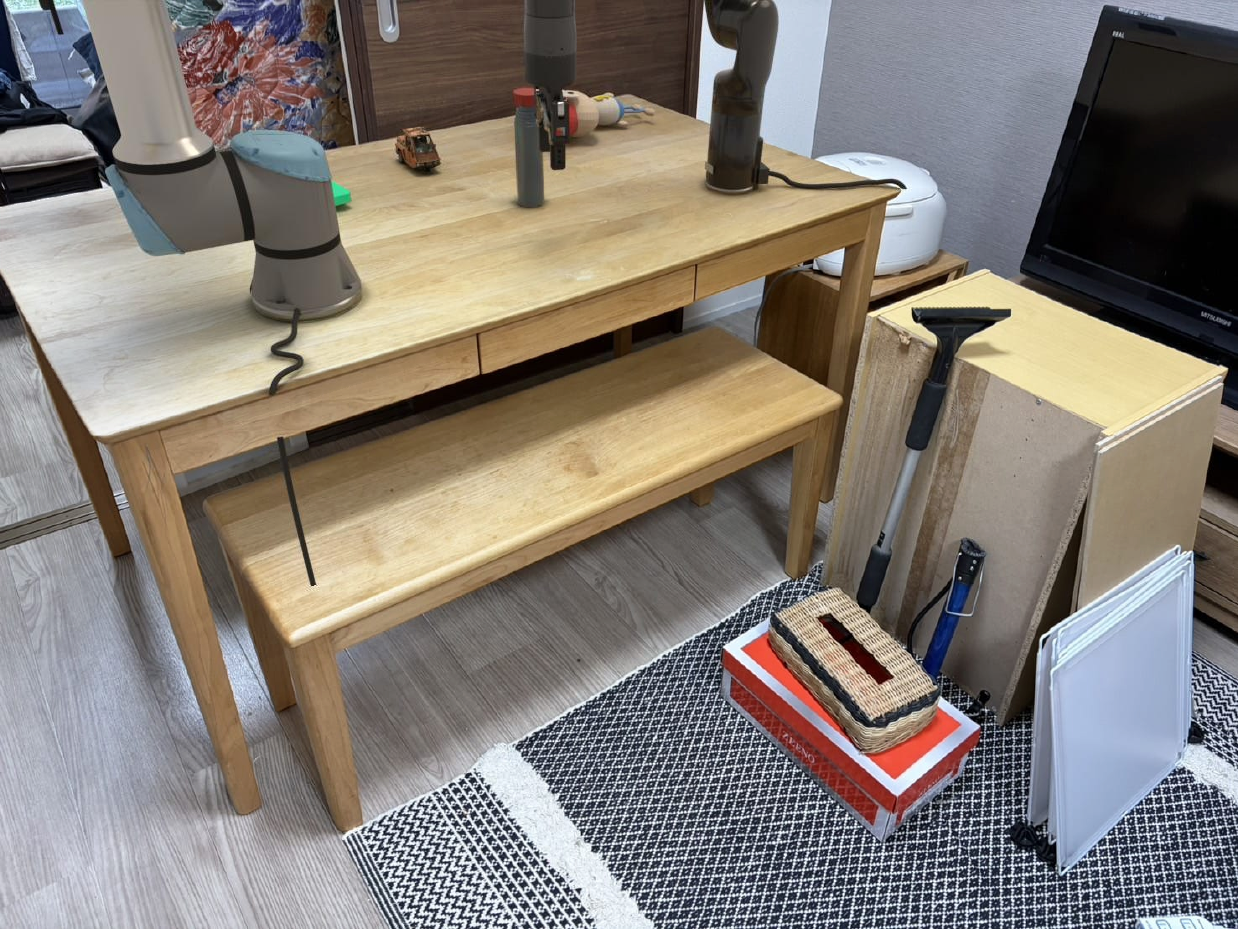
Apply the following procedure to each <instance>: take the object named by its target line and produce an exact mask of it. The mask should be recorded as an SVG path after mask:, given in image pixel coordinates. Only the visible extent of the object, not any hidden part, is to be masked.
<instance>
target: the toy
mask: <svg viewBox="0 0 1238 929" xmlns="http://www.w3.org/2000/svg"><path fill="white" fill-rule="evenodd" d="M562 91H563V97H566V100H567V101H569V104H570V107H569V123H570V137H572V138H580V137H581V138H582V137H585V136H588V135H590V134H591V133H592V132H593V131H595V129H596V128H597V126H611V125H614V124H617V125H618V126H620V127H626V126H628V122H627V121H626V120H622V119H623V117H624V115H625V114H639V113H641V114H642V113H644V114H645V115H646V116H648V117H654V116H655V114H656V110H655V109H653V108H652V107H651V108H650V107H645V108H644V107H643V106H642V105H640V104H632V105H630V106H624V105H623V103H622V102H621V101H620V100H619V99H617V98H615V95H614V94H613V93H611V92H605V93H604V94H600V95H596V96H592V97H590V95H589V94H587V93H583V92H581V91H578V90H568V89H567V90H566V89H565V90H564V89H563V90H562ZM561 118H562V117H561ZM556 135H557V136H562V134H561V131H560V130H556Z"/></svg>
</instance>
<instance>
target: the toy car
mask: <svg viewBox="0 0 1238 929" xmlns="http://www.w3.org/2000/svg"><path fill="white" fill-rule="evenodd" d="M402 131H403V133H404V135H399V136H397V138H396V142H395V143H394V146H395V148H394V149H395V153H396V155H398V156H397V157H398V160H399V163H404V164H407V166H409V167H410V168H412V169H413V170H415V171H419V170H422V169H424V170H425V173H427V174H430V173H431V172H432V169H434V168H436V167H439V166H441V165H442V162H441V160H442V158H441V157H439V153H438V151H437V144H436V143H434V141H433V139H432V137H431V133H430V132H429V131H428V130H427V129H426V128H425V127H424V126H417V127H410V128H403V129H402Z"/></svg>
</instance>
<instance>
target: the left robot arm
mask: <svg viewBox="0 0 1238 929" xmlns="http://www.w3.org/2000/svg"><path fill="white" fill-rule="evenodd" d="M81 2H82V6H83V10H84V13H85V16H86V19H87V23H88V26H89V30H90V33H91V37H92V39H93V43H94V44H93V45H94V47H95V50H96V53H97V58H98V60H99V63H100V67H101V70H102V74H103V77H104V81H105V84H106V87H107V92H108V93H109V98H110V101H111V104H112V107H113V112H114V115H115V118H116V122H117V125H118V128H119V131H120V138H119V139H118V141H117V142H116V144H115V145H114V147H113V148H112V155H113V159H114V162H115V164H113V163H112V164H111V165H110V166H108V167H106V168H105V170H104V173H105V175H106V177H107V180H108V182H109V184H110V187H111V189H112V191H113V193H114V195H115V197H116V200H117V202H118V205H119V206H120V209H121V211H122V213H123V215H124V218H125V219H126V222H127V224H128V227H129V229H130V230H131V232H132V234H133V235H132V236H133V237H134V239H135V240H136V243H137V245H138V247H139V248H140V249H141V251H143V252H144V253H145V254H147V255H149V256H151V257H162V256H164V257H165V256H171V255H178V254H179V255H185V254H186V253H191V252H197V251H203V250H208V249H213V248H218V247H224V246H228V245H234V244H235V245H236V244H240V243H245V242H251V241H252V242H253V247H254V251H255V258H254V264H253V273H252V279H251V282H250V285H249V294H250V295H251V299H252V303H253V307H254V309H255V310H256V311H257V313H259V314H260V315H262V316H264V317H266V318H268V319H271V320H275V321H281V322H289V323H291V327H290V329H291V330H290V334H289V336H287V337H286V338H284V339H282V340H279V341H277V342H274V343H273V344H272V345H271V346H270V352H271V354H272V355H274V356H276V357H280V358H285V359H292V360H295V361H296V363H294V364H292V365H289V366H288V367H286V368H284V369H282V370H281V371H279V372H278V373H277V374H276V375H275V376H274V377H273V379H271V380H272V381H271V383H270V386H269V390H268V395H269V396H274V395H276V393H277V389H278V386H279V384H280V382H281V380H282V379H283V378H284V377H286V376H288V375H290V374H292V373H294V372H296V371H299V369H301V368H303V366H304V364H305V360H304V358H303V356H302V355H300V354H298V353H295V352H290V351H283V350H280V348H282V347H285V346H288V345H290V344H291V343H293V342H294V341H295V340H296V338H297V335H298V325H299V323H304V322H314V321H315V322H316V321H320V320H326V319H330V318H332V317H336V316H338V315H341V314H343V313H345V312H348V311H349V310H351V309H353V308H354V307H355V306H356V305H357V304H358V303H359V302H360V301H361V298H362V297H363V287H362V282H361V278H360V276H359V274H358V272H357V270H356V268H355V266H354V264H353V263H352V261H351V259H350V257H349V255H348V253H347V251H346V250H345V248H344V245H343V243H342V239H341V233H340V225H339V220H338V214H337V207H336V206H335V201H334V195H333V188H332V182H331V181H333V174H332V172H331V169H330V166H329V161H328V158H327V154H326V151H325V149H324V147H323V145H322V144H321V143H320V142H318V141H317V140H315V139H314V138H312V137H310V136H308V135H304V134H301V133H297V132H292V131H287V130H278V129H277V130H276V129H254V130H247V131H243V132H241V133H239V132H238V133H237V134H235V135H233V137H231V139H230V144H229V147H230V149H228V150H220V151H216V148H215V144H214V140H213V138H211V137H210V136H209V135H207V134H206V133H204V132H203V131H201V130H200V129H199V128H198V127H197V124H196V121H195V115H194V112H193V108H192V104H191V99H190V96H189V91H188V87H187V83H186V79H185V76H184V72H183V67H182V62H181V59H180V55H179V51H178V50H179V49H178V48H177V41H176V39H175V35H174V30H173V26H172V22H171V17H170V15H169V14H170V13H169V10H168V6H167V2H166V0H81ZM38 4H39V6H40V8H41V9H42V11H50V14H51V18H52V20H53V23H54V26H55V29H56V30H55V31H56V32H57V35H58V36H61V35H65V34H64V30H63V27H62V24H61V20H60V18H59V14H58V12H57V8H56V5H55V2H54V0H38ZM276 440H277V446H278V452H279V457H280V463H281V468H282V473H283V477H284V481H285V486H286V492H287V495H288V499H289V503H290V508H291V512H292V517H293V522H294V525H295V529H296V533H297V537H298V541H299V545H300V550H301V553H302V557H303V561H304V566H305V570H306V573H307V577H308V582H309V585H311V586H314V585H316V586H317V582H316V579H315V573H314V568H313V565H312V562H311V557H310V554H309V549H308V545H307V542H306V536H305V533H304V528H303V525H302V520H301V517H300V512H299V507H298V503H297V498H296V494H295V489H294V484H293V481H292V480H293V479H292V475H291V470H290V464H289V459H288V455H287V450H286V444H285V439H284V436H276ZM311 586H310V587H311Z"/></svg>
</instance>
